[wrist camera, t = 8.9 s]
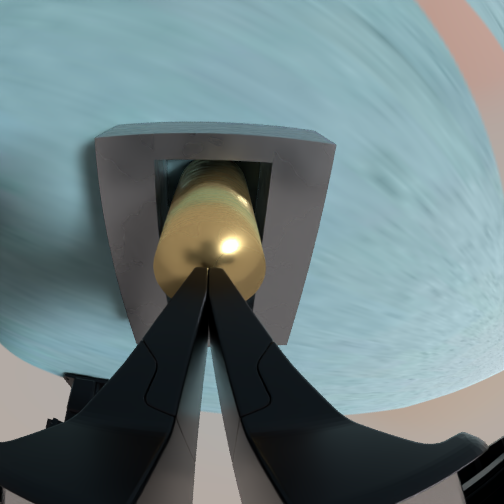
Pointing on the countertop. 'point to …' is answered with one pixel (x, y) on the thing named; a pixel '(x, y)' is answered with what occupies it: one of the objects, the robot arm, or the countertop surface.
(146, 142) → the jig
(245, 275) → the gold domed cylinder
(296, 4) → the countertop surface
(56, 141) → the countertop surface
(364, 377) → the countertop surface
